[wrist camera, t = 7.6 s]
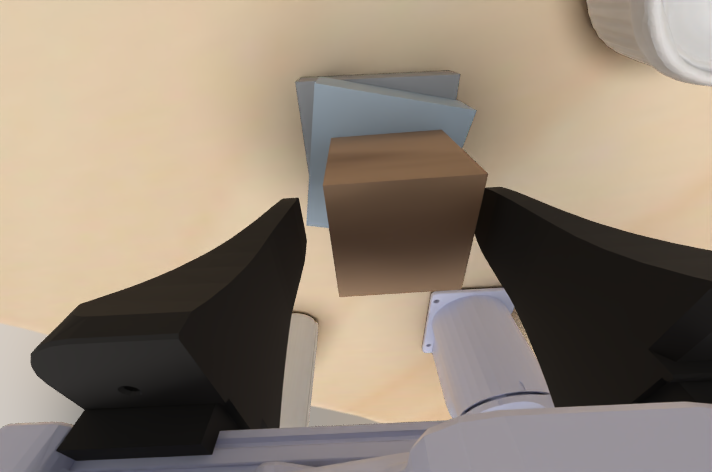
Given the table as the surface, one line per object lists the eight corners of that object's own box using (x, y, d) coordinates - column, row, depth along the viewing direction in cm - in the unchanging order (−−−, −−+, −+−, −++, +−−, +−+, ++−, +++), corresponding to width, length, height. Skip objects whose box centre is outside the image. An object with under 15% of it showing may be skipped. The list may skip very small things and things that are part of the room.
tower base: (428, 197, 20) (437, 215, 18) (319, 202, 20) (315, 220, 18) (445, 69, 15) (460, 74, 13) (302, 76, 15) (295, 81, 13)
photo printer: (300, 368, 32) (279, 516, 22) (263, 362, 31) (224, 514, 21) (324, 315, 27) (310, 482, 17) (280, 306, 26) (238, 478, 16)
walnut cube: (431, 222, 15) (461, 289, 11) (341, 228, 15) (339, 297, 11) (441, 129, 12) (488, 173, 8) (331, 137, 12) (322, 185, 8)
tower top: (418, 216, 18) (427, 239, 16) (311, 203, 17) (306, 225, 15) (457, 100, 14) (476, 110, 12) (319, 76, 13) (314, 83, 11)
